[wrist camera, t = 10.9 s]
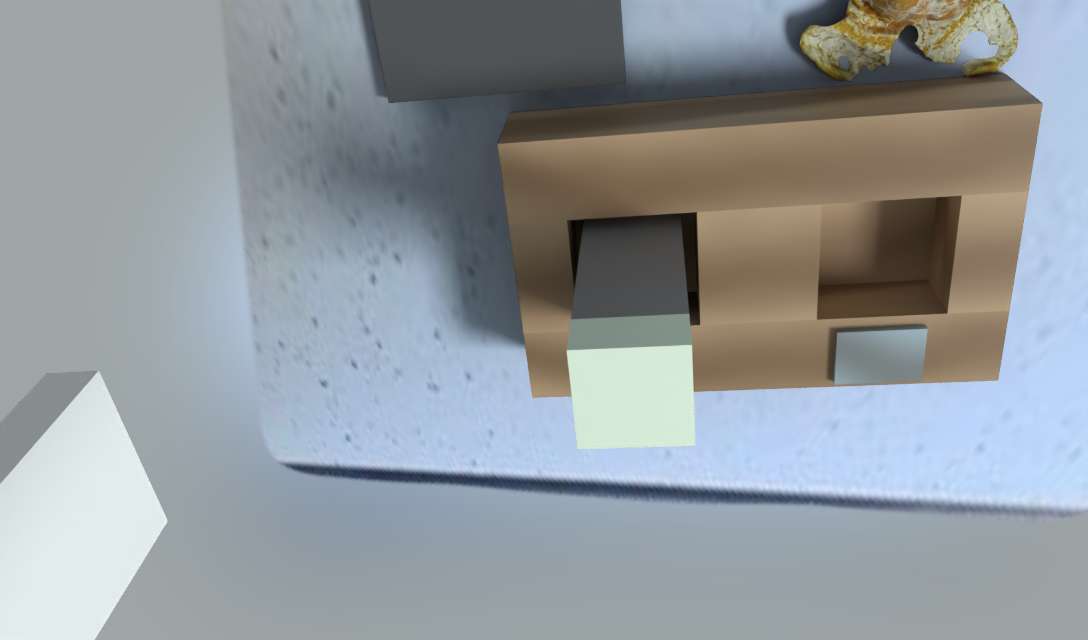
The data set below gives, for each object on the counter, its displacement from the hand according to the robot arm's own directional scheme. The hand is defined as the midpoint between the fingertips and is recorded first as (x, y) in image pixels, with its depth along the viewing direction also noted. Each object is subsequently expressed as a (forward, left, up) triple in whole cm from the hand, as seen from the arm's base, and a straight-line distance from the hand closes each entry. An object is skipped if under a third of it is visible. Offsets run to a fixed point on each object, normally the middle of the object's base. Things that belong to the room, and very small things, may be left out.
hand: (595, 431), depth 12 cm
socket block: (+10, +5, -29) cm, 31 cm away
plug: (+10, 0, -28) cm, 30 cm away
